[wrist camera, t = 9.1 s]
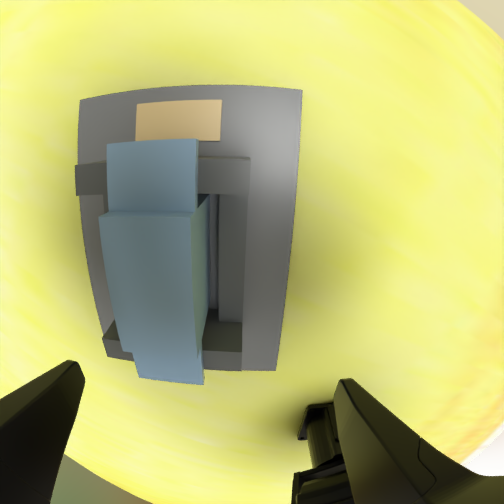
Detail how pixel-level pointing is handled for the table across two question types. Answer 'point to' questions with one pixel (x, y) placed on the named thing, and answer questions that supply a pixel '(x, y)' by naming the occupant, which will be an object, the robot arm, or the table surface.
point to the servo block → (158, 256)
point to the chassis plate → (221, 203)
